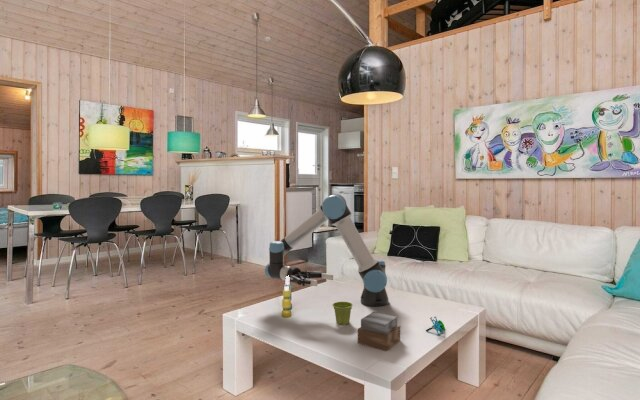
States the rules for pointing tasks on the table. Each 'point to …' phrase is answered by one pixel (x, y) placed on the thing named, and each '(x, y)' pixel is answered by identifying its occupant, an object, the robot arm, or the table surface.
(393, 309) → the table surface
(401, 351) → the table surface
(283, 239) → the robot arm
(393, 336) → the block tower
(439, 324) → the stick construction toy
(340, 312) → the plant pot
